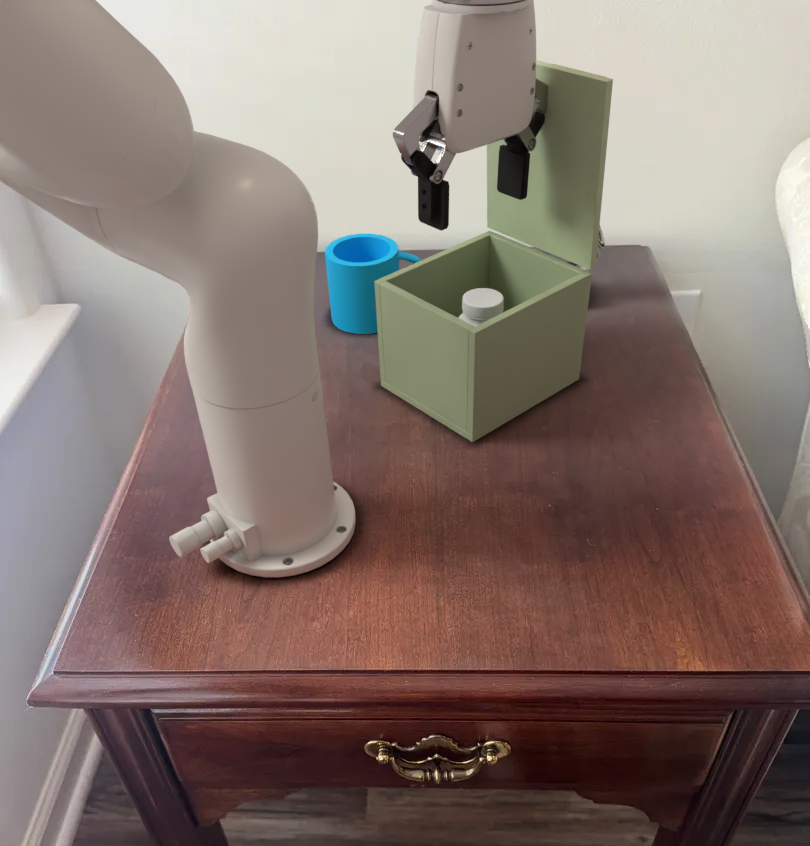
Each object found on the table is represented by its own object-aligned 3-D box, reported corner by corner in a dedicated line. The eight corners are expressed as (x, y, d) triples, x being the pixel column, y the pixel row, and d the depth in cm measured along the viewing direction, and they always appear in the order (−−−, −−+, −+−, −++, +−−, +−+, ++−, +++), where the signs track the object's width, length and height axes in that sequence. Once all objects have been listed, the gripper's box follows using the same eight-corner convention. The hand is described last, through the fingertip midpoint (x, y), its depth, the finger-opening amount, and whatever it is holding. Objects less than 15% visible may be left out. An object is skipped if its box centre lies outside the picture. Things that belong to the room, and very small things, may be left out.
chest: (472, 442, 82) (475, 333, 73) (380, 386, 89) (374, 280, 81) (579, 379, 89) (592, 273, 81) (485, 331, 96) (489, 230, 88)
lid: (607, 81, 68) (649, 63, 71) (486, 51, 76) (527, 35, 78) (590, 270, 80) (626, 249, 82) (486, 227, 88) (522, 209, 90)
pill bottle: (512, 386, 87) (517, 307, 81) (462, 393, 86) (463, 314, 80) (498, 359, 91) (501, 281, 84) (450, 366, 90) (450, 288, 84)
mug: (332, 336, 97) (325, 268, 91) (330, 301, 103) (324, 236, 97) (437, 328, 97) (437, 260, 92) (429, 294, 103) (428, 228, 98)
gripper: (523, -40, 70) (510, 174, 82) (360, -9, 62) (371, 224, 73) (595, -29, 66) (570, 195, 77) (431, 6, 58) (430, 251, 69)
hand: (473, 209), depth 75 cm, fingers open, 9 cm apart
